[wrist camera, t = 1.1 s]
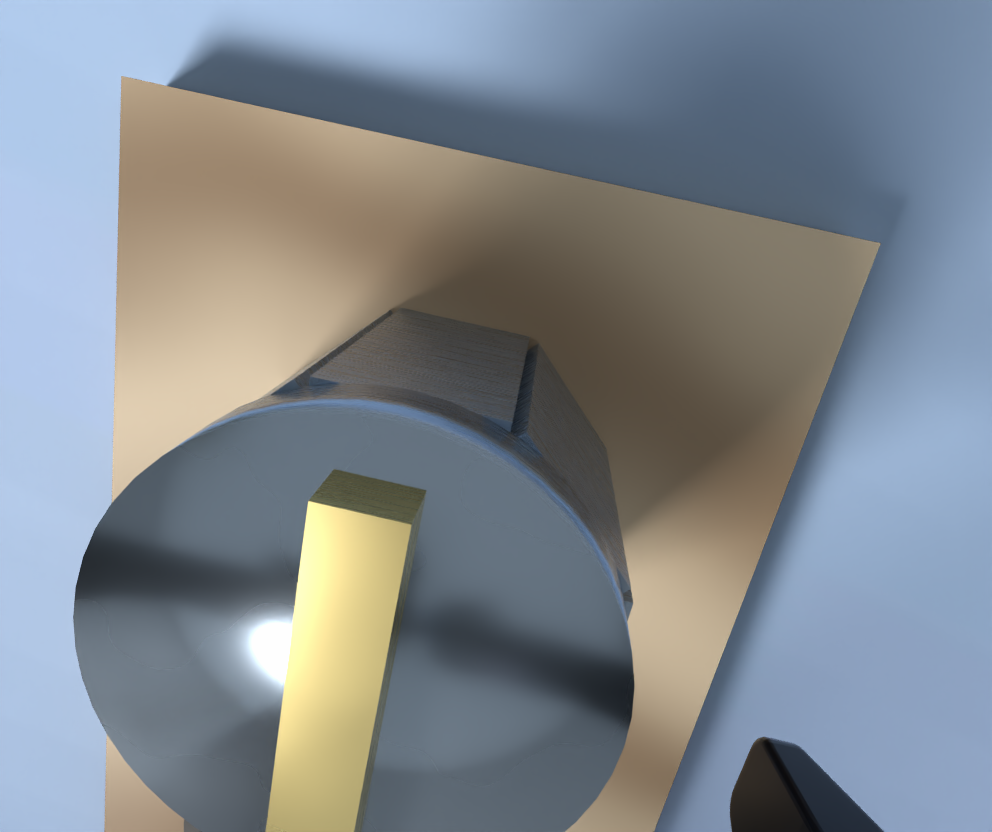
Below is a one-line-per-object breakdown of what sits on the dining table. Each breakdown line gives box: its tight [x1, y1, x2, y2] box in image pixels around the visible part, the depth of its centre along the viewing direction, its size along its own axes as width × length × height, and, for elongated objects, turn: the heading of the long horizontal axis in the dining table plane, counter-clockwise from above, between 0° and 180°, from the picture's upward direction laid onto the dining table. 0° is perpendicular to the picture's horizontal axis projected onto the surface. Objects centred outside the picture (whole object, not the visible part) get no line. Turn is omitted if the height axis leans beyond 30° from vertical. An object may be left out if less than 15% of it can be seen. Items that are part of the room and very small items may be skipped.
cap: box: [73, 308, 635, 832], centre depth 9 cm, size 6×6×6 cm
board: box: [105, 76, 881, 832], centre depth 12 cm, size 20×12×5 cm, turn 168°
